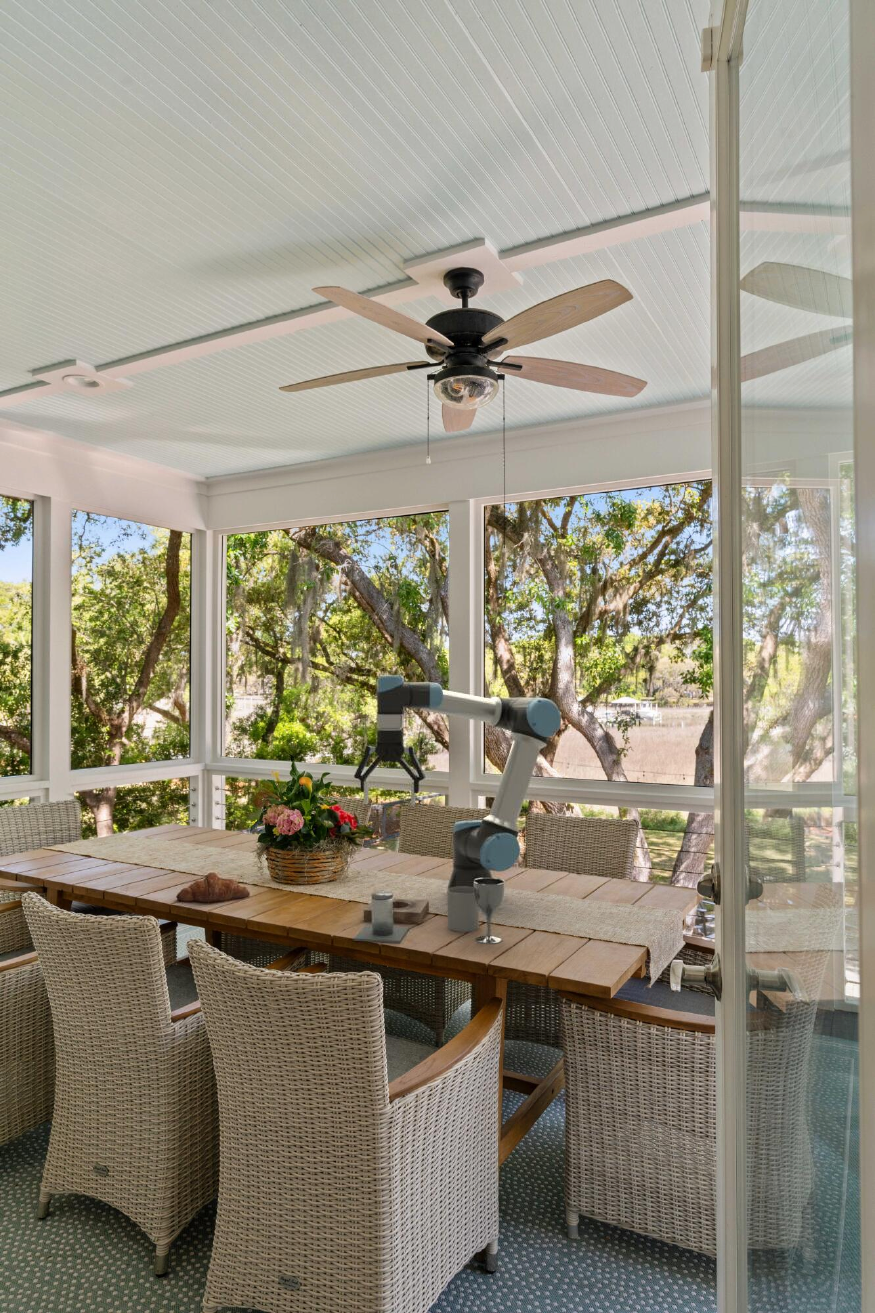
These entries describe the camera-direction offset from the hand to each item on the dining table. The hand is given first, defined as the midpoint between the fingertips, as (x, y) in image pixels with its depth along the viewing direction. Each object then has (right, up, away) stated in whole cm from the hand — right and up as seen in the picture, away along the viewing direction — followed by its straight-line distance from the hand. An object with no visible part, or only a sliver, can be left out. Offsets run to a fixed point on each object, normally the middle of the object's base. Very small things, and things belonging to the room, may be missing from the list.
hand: (389, 804), depth 235 cm
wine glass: (+27, -31, -22) cm, 47 cm away
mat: (-1, -31, -18) cm, 36 cm away
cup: (+21, -32, -11) cm, 39 cm away
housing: (+2, -32, 0) cm, 32 cm away
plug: (-1, -30, -18) cm, 35 cm away
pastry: (-55, -33, +19) cm, 67 cm away
